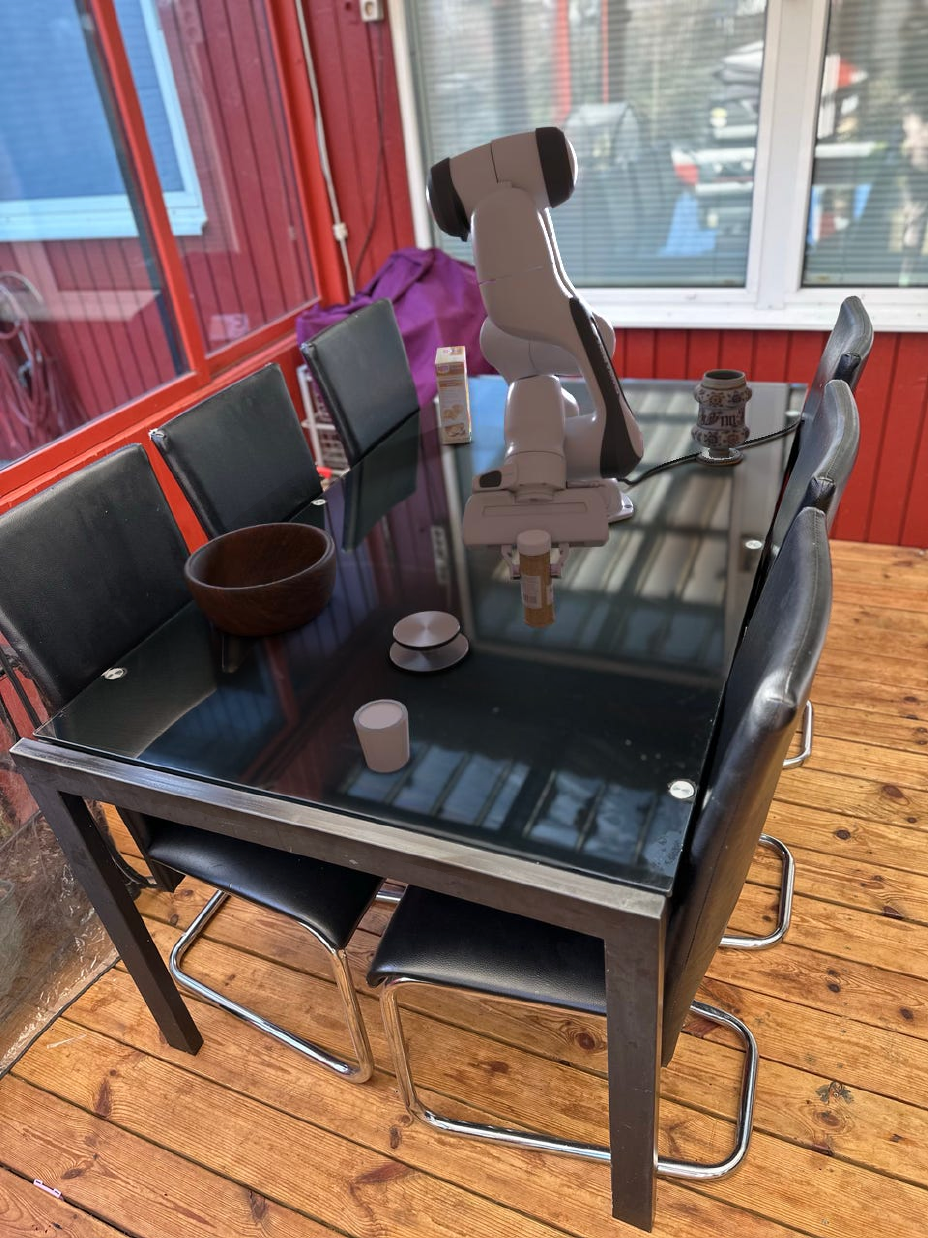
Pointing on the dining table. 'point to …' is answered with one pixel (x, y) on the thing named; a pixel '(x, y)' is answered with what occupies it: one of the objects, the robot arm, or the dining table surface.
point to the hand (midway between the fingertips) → (535, 578)
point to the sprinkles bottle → (536, 577)
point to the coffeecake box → (453, 394)
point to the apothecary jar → (721, 415)
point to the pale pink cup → (383, 734)
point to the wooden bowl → (263, 577)
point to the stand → (428, 643)
